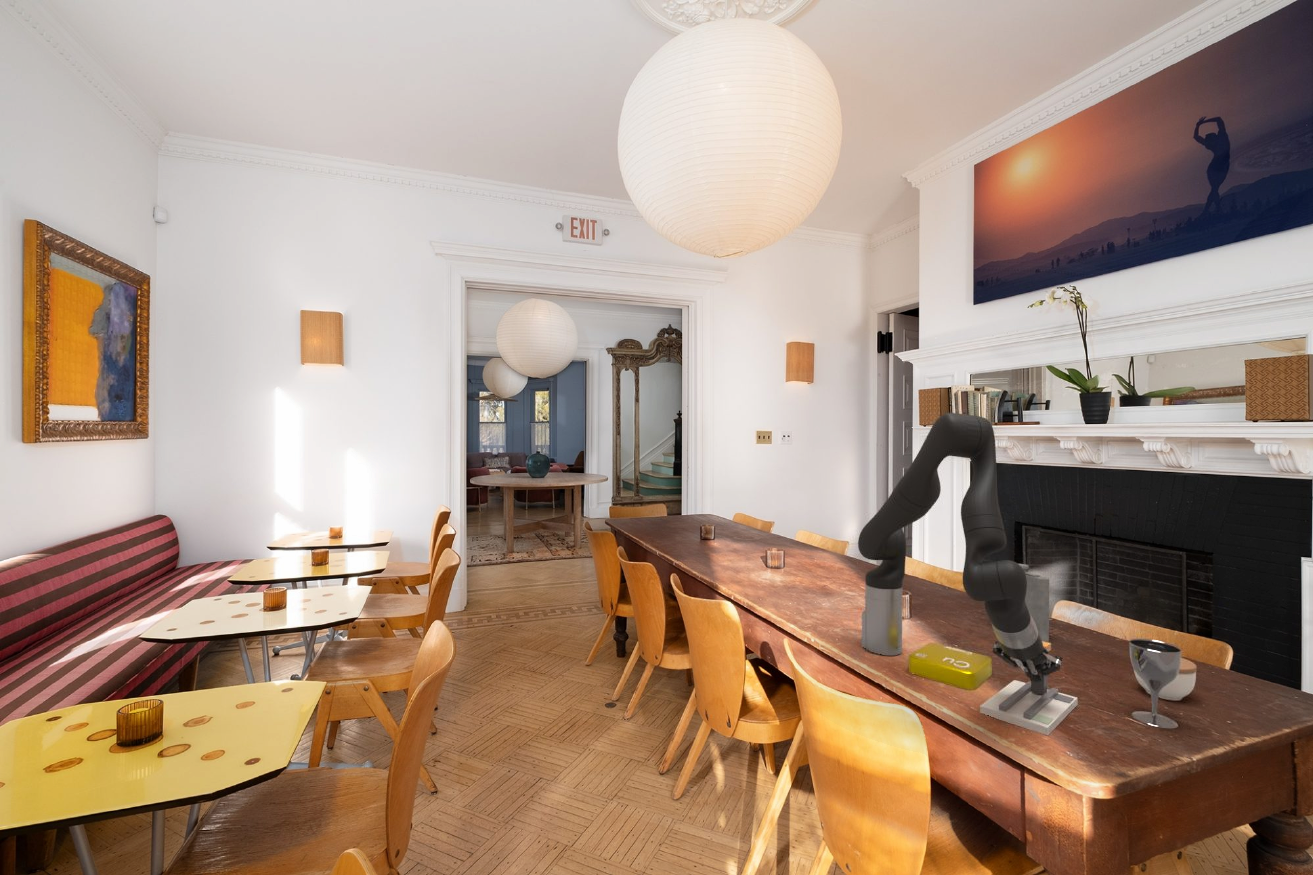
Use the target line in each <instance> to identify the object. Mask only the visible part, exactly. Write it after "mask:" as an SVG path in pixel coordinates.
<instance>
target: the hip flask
mask: <svg viewBox="0 0 1313 875" xmlns="http://www.w3.org/2000/svg"><path fill="white" fill-rule="evenodd" d="M1018 564H1019V565H1020V566H1021V567H1022V568H1023V570H1024V572H1025V574H1026V578H1027V591H1026V597H1025V603H1026V606H1027V608H1028V611H1029V613H1030V615H1031V616H1032V618H1033V620H1034V622H1035V624H1036V627H1037V629H1038V632H1039V634H1040V637H1041V639H1042V641H1043V642H1048V643H1050V578H1048V577H1046V576H1041V575H1040V574H1036V573H1034V572H1031V571H1030V572H1029V570H1028V569H1030V568H1029V567H1030V566H1029V564H1025V563H1024V564H1023V563H1018Z"/></svg>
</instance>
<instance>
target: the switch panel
mask: <svg viewBox="0 0 1313 875" xmlns="http://www.w3.org/2000/svg"><path fill="white" fill-rule="evenodd" d="M1078 700H1079V699H1078V697H1076V696H1073V695H1069V694H1066V693H1063V692H1062V693H1061V692H1059V689H1058V688H1054V687H1050V689H1048V688H1047V692H1046V693H1045V694H1044V695H1041V694H1037V693H1034V692H1031V680H1029V681H1027V682H1023V681H1020V680H1015V679H1013V680H1012V681H1011V682H1010V683H1008V684H1007V685H1006V686H1005V687H1003V688H1002V689H1001V690H998V692H996V693H995V694H994V695H993V696H991V697H990V698H988V699H987V700H986V701H984V702H983V703H982V704H980V705H979V713H980V714H981V713H984V714H985V715H984V714H983V715H984V716H987V715H989V716H988V717H990V716H991V718H993V717H994V719H996V720H1000V721H1003V722H1005V723H1008V724H1012V725H1013V726H1017V727H1020V728H1023V729H1027V730H1029V731H1032V732H1036V733H1039V734H1041V735H1044V736H1049V735H1050V734H1051V733H1052V732H1053V731H1054V730H1055V729H1056V728H1057V727H1058V726H1059V725H1060V724H1061V723H1062V722H1063V721H1064V720H1065V719H1066V717H1067V716H1069V714H1071V712H1072V711H1073V710H1074V709H1075V708H1076V707H1077V706H1078Z"/></svg>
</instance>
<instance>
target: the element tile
mask: <svg viewBox="0 0 1313 875" xmlns="http://www.w3.org/2000/svg"><path fill="white" fill-rule="evenodd" d="M992 660H993V659H992V658H991V657H990V656H988V655H985V654H981V653H975V652H972V651H968V650H963V649H960V648H957V647H956V648H955V647H953V646H948V645H944V644H939V643H935V642H930V643H926V644H925V645H924V646H922V647H920V648H919V649H917V650H915V651H914V652H912V653H910V654H909V655H908V672H909V671H910V672H909V674H912V673H914V674H916V675H915V676H917V675H919V676H918V677H921V676H922V678H924V677H927V678H926V679H928V678H929V679H928V680H931V679H933V680H932V681H934V682H938V681H940V682H939V683H941V682H942V683H941V684H945V683H946V684H945V685H949V686H952V687H955V688H960V689H963V690H967V691H973V690H977V689H978V688H979V687H980V686H982V684H983V683H985V682H986V681H987V680H989V678H990V677H992V669H993V667H992V665H993V664H992V662H993V661H992ZM914 674H913V675H914Z"/></svg>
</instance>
